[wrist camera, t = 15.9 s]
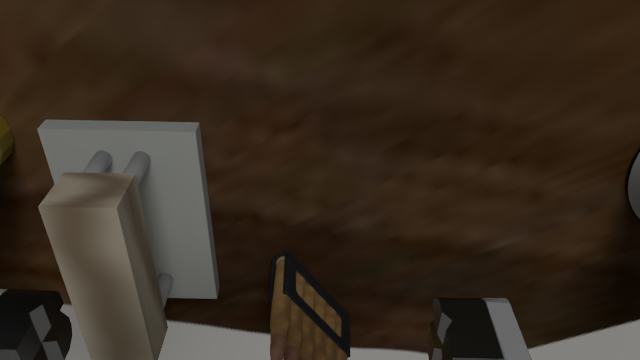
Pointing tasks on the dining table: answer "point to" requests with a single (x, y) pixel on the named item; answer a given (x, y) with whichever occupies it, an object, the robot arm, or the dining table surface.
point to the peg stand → (150, 190)
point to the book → (5, 140)
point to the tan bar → (106, 263)
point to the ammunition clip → (304, 316)
